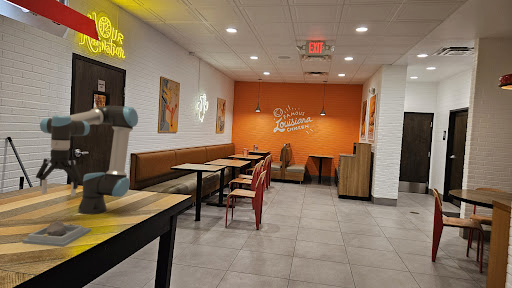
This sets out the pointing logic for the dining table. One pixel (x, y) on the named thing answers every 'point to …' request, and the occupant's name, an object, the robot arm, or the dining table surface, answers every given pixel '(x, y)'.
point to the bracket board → (62, 240)
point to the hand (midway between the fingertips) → (58, 194)
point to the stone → (56, 229)
